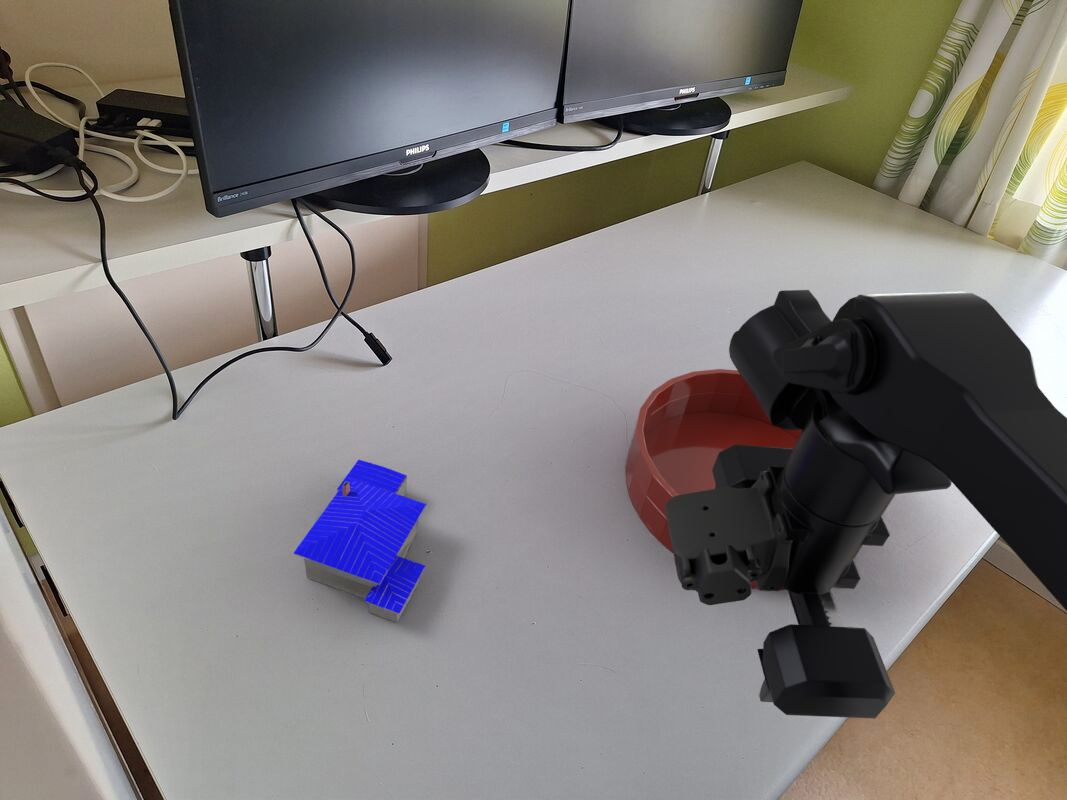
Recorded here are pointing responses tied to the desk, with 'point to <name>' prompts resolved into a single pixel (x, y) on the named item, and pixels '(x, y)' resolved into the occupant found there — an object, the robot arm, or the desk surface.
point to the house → (367, 540)
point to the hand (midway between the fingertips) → (750, 636)
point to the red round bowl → (692, 440)
